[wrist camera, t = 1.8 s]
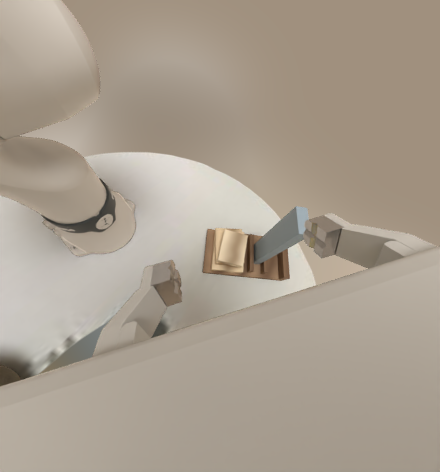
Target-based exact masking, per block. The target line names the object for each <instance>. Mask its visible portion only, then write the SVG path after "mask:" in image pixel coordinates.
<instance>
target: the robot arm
mask: <svg viewBox="0 0 440 472" xmlns="http://www.w3.org/2000/svg"><path fill="white" fill-rule="evenodd" d="M99 94H100V74H99V68H98V64H97V60H96V57H95V54H94V51H93V49H92V47H91V45H90V42H89V40H88V38H87V36H86V35H85V33H84V31H83V29H82V28H81V26H80V25H79V23H78V21H77V20H76V19H75V17H74V16H73V14H72V13H71V12H70V10H69V9H68V8H67V7H66V5H65V4H64V3H63V2H62V1H61V0H0V195H1V196H4V197H7V198H10V199H12V200H15V201H17V202H19V203H21V204H23V205H25V206H27V207H29V208H31V209H32V210H34V211H36V212H38V213H40V214H41V215H42V217H43V218H44V219H45V221H43V224H44V225H45V226H46V227H48V228H49V229H51V230H53V229H54V233H55V234H56V235H57V236H59V237H60V238H61V240H62V241H63V242H64V243H65V245H66V246H67V247H68V248H69V250H70V251H71V252H72V254H74V255H75V256H84V255H87V254H92V253H95V254H105V253H110V252H113V251H116V250H118V249H120V248H122V247H123V246H124V245H126V244H127V243H128V242H129V241H130V239H131V238H132V236H133V234H134V232H135V228H136V222H135V218H134V210H135V205H134V203H133V202H131V201H129V200H127V199H125V198H123V197H122V196H121V194H120V193H118V192H115V191H112V190H110V188H109V187H108V186H107V185H106V184H105V183H104V182H103V181H102V180H101V179H99V178H98V177H97V175H96V174H95V172H94V171H93V170H92V168H91V167H90V165H89V164H88V163H87V161H86V160H85V159H84V157H83V156H81V155H80V154H79V153H78V152H77V151H75V150H73V149H72V148H70V147H68V146H66V145H63V144H61V143H58V142H56V141H53V140H48V139H42V138H31V137H22V136H19V135H22V134H25V133H28V132H31V131H34V130H37V129H40V128H43V127H46V126H49V125H52V124H55V123H58V122H61V121H64V120H67V119H69V118H71V117H72V116H74V115H75V114H77V113H78V112H80V111H82V110H83V109H85V108H86V107H88V106H89V105H90V104H92V103H93V102H95V101H96V100H97V99H98V98H99ZM304 227H305V228H306V230H305V231H304V233H303V238H304V241H305V243H306V244H307V245H308V246H309V247H311V248H314V252H315V253H316V254H317V255H319V256H320V257H321V258H325V257H328V256H332V255H335V254H336V256H339V257H341V258H344V259H346V260H349V261H351V262H354V263H356V264H359V265H361V266H363V267H366V268H368V269H366V270H363V271H360V272H357V273H354V274H351V275H347V276H344V277H341V278H338V279H335V280H332V281H329V282H326V283H322V284H320V285H316V286H313V287H310V288H307V289H304V290H301V291H297V292H294V293H291V294H288V295H285V296H282V297H279V298H276V299H272V300H269V301H266V302H263V303H260V304H257V305H254V306H251V307H248V308H244V309H241V310H238V311H235V312H232V313H229V314H226V315H223V316H219V317H216V318H213V319H210V320H207V321H204V322H201V323H198V324H194V325H191V326H188V327H185V328H182V329H179V330H176V331H173V332H170V333H166V334H163V335H160V336H157V337H154V338H151V337H152V335H153V333H154V331H155V330H156V328H157V326H158V324H159V322H160V320H161V318H162V316H163V314H164V313H165V311H166V309H167V307H168V306H171V305H174V304H177V303H179V302H182V292H181V290H180V287H181V278H180V275H179V272H178V270H176V269H175V264H174V262H173V260H169V261H165V262H162V263H158V264H155V265H151V266H147V267H145V268H144V272H143V277H142V281H141V286H140V289H139V290H137V291H136V292H135V293H134V294H133V295H132V296H131V298H130V299H129V300H128V301H127V302H126V303H125V304H124V306H123V307H122V308H121V309H120V310H119V311H118V312H117V313H116V315H115V316H114V317H113V318H112V319H111V320H110V321H109V323H108V324H107V325H106V326H105V327H104V328H103V329H102V331H101V333H100V336H99V339H98V342H97V345H96V347H95V350H94V353H93V356H92V358H89V359H86V360H82V361H79V362H76V363H73V364H70V365H67V366H64V367H60V368H57V369H54V370H51V371H48V372H45V373H42V374H39V375H36V376H32V377H29V378H26V379H23V380H20V381H17V382H13V383H10V384H7V385H3V386H0V472H440V246H438V247H437V246H435V245H433V244H430V243H428V242H426V241H424V240H422V239H420V238H418V237H416V236H414V235H411V234H407V233H401V232H395V231H390V230H384V229H379V228H372V227H367V226H361V225H356V224H355V225H352V224H350V223H348V222H347V221H345V220H343V219H341V218H339V217H338V216H336V215H334V214H333V213H329V214H325V215H322V216H320V217H316V218H313V219H309V220H306V221H305V223H304ZM75 247H77V248H76V249H75Z"/></svg>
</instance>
